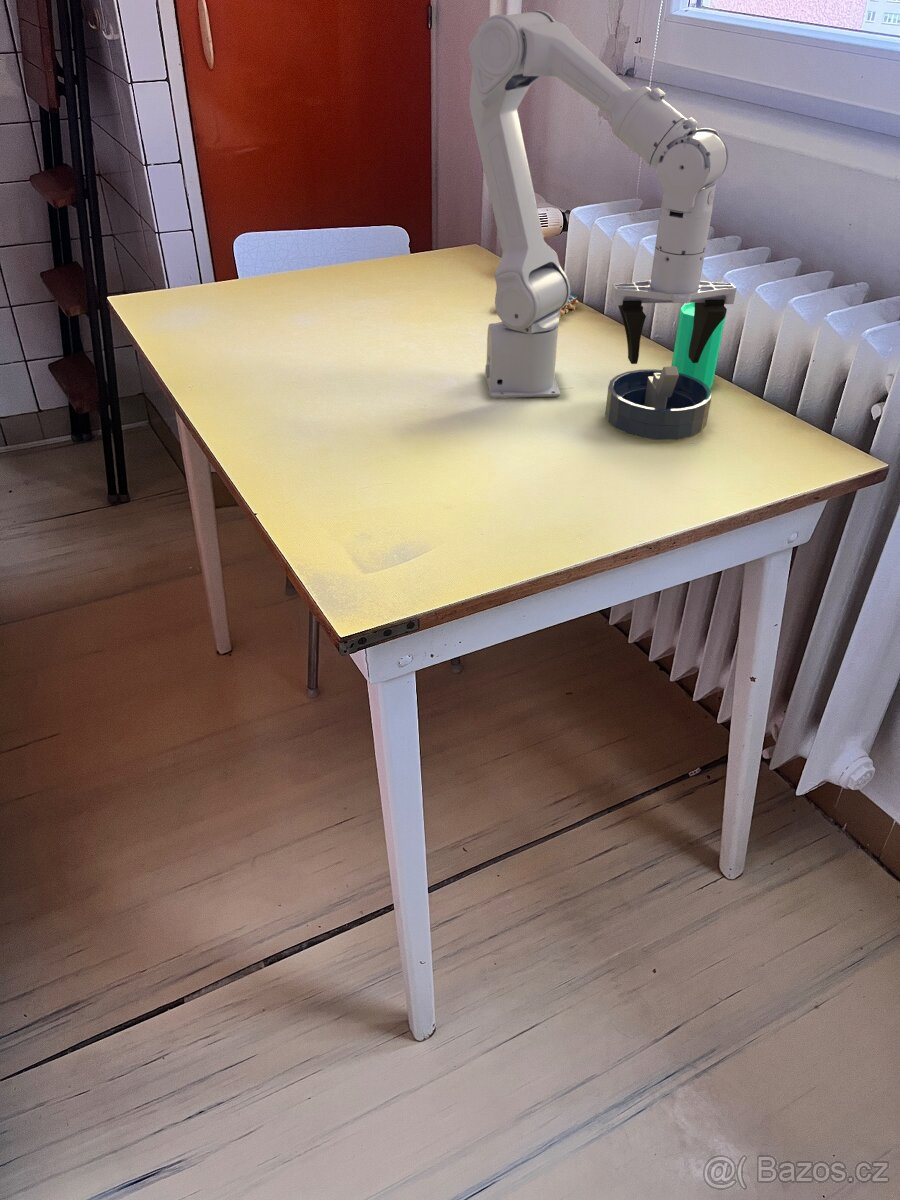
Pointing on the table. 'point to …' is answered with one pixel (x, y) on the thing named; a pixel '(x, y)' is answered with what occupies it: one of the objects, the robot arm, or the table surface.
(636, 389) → the bowl
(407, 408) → the table surface
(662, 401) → the lighter
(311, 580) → the table surface
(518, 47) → the robot arm
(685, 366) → the candle
